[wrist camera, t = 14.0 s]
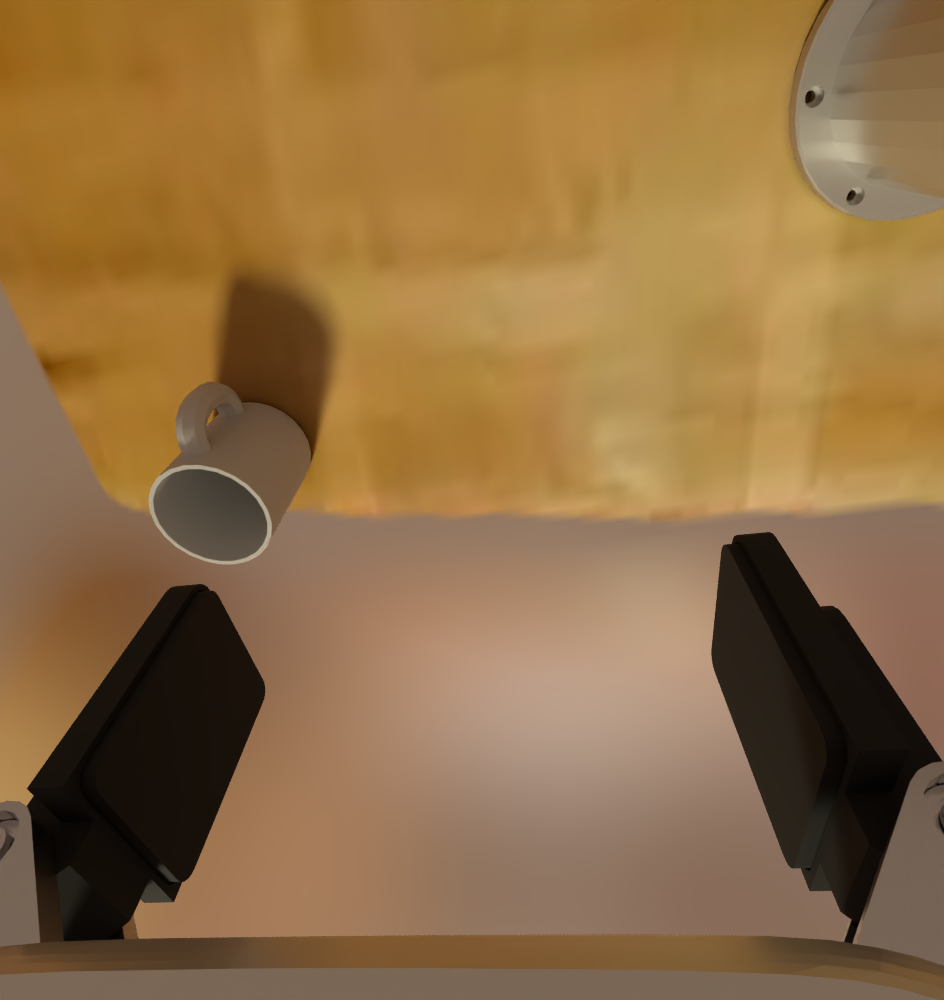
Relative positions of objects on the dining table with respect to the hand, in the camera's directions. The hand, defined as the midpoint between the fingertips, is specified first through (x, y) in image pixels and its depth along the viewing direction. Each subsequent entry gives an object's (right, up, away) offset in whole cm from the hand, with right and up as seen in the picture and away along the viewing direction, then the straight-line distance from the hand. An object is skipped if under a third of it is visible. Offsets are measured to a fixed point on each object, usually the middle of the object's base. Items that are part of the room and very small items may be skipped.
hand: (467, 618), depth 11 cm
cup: (-15, +7, +30) cm, 35 cm away
